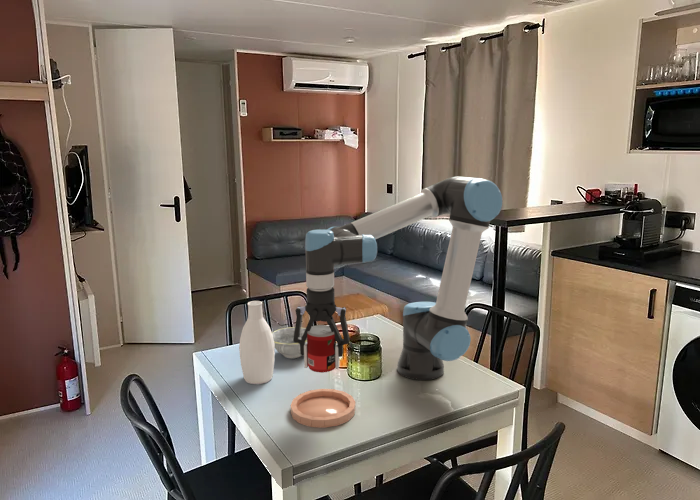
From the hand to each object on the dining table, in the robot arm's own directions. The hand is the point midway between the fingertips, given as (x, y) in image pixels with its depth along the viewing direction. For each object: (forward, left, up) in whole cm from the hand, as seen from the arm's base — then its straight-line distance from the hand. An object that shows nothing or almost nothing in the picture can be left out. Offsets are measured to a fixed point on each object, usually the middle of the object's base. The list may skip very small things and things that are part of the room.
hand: (322, 366), depth 149 cm
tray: (0, 0, -13) cm, 13 cm away
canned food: (0, 0, 0) cm, 0 cm away
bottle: (+24, -19, -14) cm, 33 cm away
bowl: (+17, -39, -14) cm, 45 cm away
